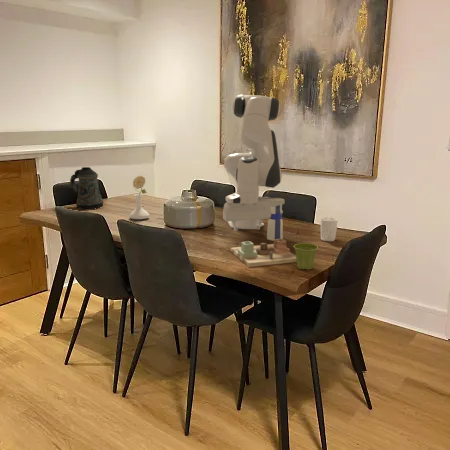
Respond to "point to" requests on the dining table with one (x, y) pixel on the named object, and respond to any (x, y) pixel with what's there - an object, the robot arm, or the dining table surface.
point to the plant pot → (305, 255)
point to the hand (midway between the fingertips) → (246, 229)
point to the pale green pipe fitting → (247, 249)
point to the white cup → (328, 229)
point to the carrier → (268, 254)
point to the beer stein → (87, 189)
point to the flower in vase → (139, 199)
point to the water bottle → (275, 219)
